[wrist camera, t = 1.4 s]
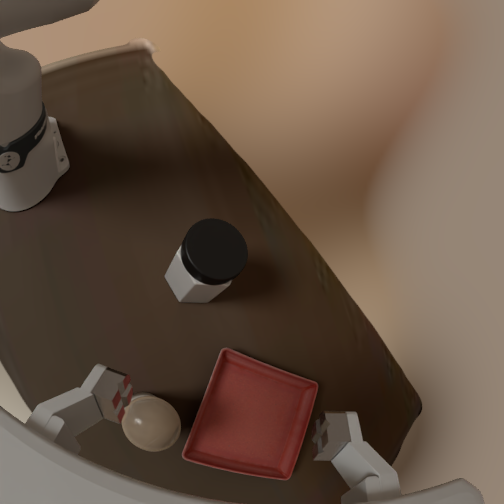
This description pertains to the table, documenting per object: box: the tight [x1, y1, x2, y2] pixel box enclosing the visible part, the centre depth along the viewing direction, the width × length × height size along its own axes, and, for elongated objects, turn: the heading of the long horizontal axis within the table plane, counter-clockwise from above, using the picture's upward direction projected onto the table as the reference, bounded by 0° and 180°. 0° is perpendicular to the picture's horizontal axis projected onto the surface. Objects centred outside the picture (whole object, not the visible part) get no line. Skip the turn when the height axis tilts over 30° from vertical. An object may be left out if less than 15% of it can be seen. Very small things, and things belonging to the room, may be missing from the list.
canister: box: [122, 392, 181, 451], centre depth 28 cm, size 6×6×10 cm
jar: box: [165, 218, 248, 303], centre depth 39 cm, size 9×8×12 cm
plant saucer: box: [182, 348, 318, 480], centre depth 37 cm, size 18×18×3 cm
